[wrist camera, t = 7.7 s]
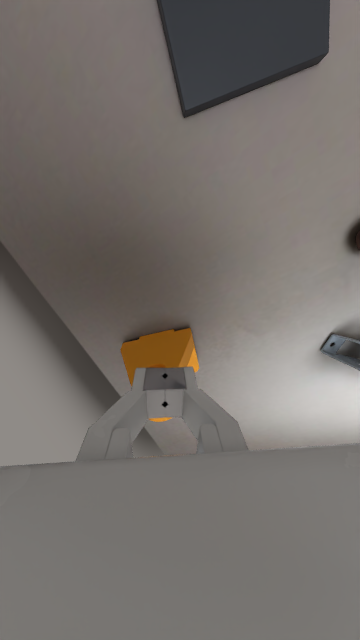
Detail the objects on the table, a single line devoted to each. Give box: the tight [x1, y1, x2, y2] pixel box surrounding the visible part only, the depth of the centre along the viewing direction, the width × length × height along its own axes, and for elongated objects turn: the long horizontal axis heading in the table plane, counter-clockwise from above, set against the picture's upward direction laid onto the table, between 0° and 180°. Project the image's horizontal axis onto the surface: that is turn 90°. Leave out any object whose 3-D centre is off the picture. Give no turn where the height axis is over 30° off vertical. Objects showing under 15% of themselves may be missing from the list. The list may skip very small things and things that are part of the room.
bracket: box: [120, 328, 199, 422], centre depth 25 cm, size 11×7×12 cm, turn 102°
